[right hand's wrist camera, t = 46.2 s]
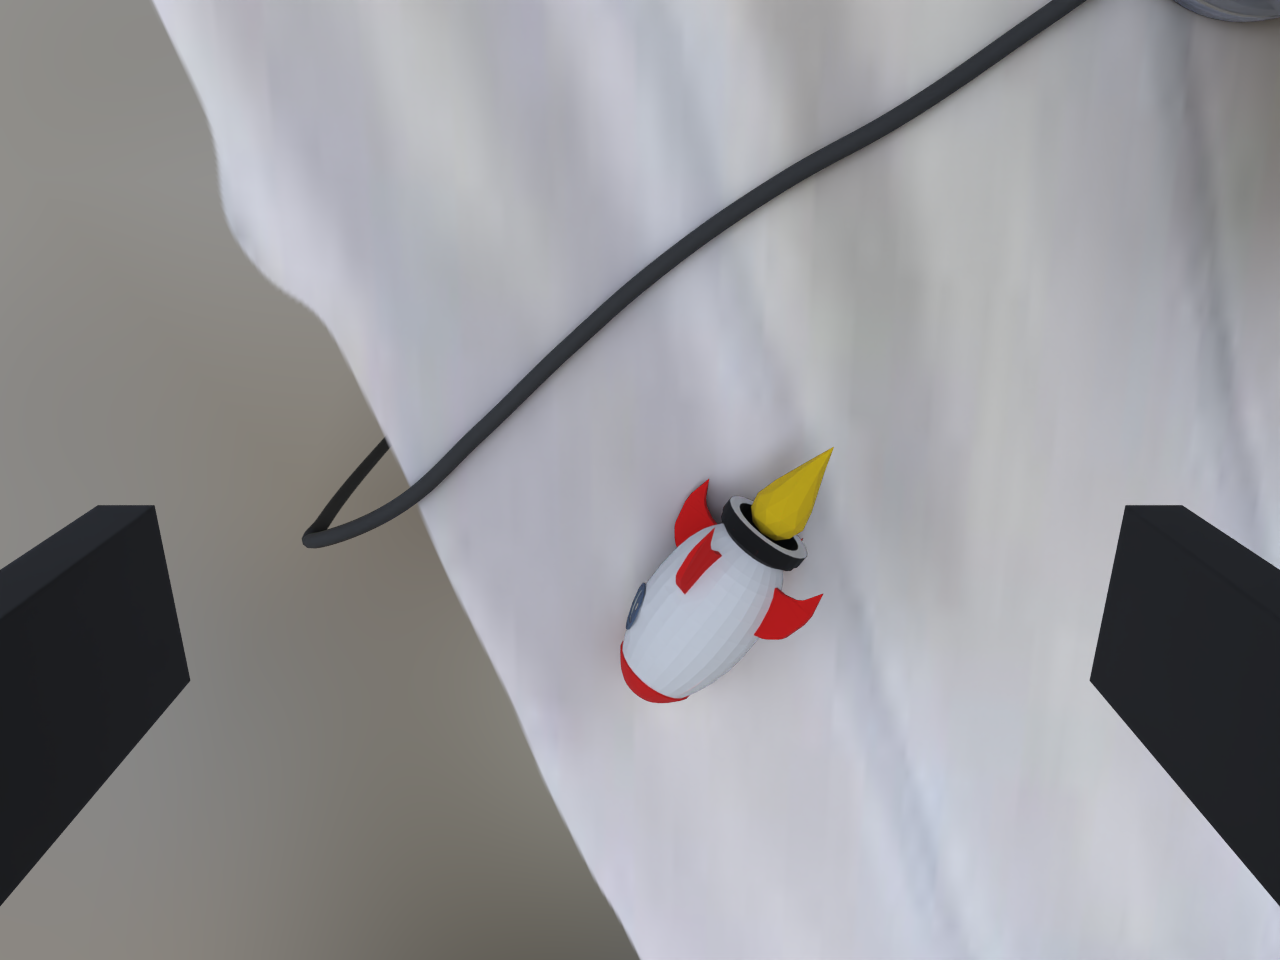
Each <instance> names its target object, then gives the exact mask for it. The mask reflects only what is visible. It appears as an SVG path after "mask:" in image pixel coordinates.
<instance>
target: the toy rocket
mask: <svg viewBox="0 0 1280 960" xmlns="http://www.w3.org/2000/svg"><path fill="white" fill-rule="evenodd" d="M833 448H834V447H832V448H831V449H829V450H827V451H825V452H824V453H822V454H820V455H818V456H817V457H815V458H813V459H811V460H809V461H808V462H806V463H804V464H803V465H801V466H799V467H797V468H796V469H794V470H792V471H790V472H789V473H787V474H785V475H784V476H782V477H780V478H778V479H777V480H775V481H774V482H772V483H771V484H770V485H768V486H767V487H765V488H764V489H763V490H761V491H760V492H759V493H758V494H757V496H756V498H755V500H754V501H752V500H750V499H747V498H745V497H741V496H733V497H731V498H730V500H729V501H728V502H727V503H726V505H725V506H724V508H723V513H722V515H721V518H722V522H723V523H722V524H717V523H716V522H715V521H714V519H713V518H712V516H711V514H710V512H709V510H708V508H707V503H706V495H707V489H708V483H709V479H708V480H707V481H706V482H704V483H703V484H702V485H701V486H700V487H698V488H697V489H696V490H695V491H694V492H692V493H691V495H690V496H689V497H688V499H687V500H686V501H685V503H684V505H683V508H682V510H681V512H680V514H679V516H678V518H677V520H676V523H675V543H676V546H677V548H676V549H675V550H674V551H673V552H672V553H671V554H670V555H669V556H668V557H667V559H666V560H665V561H664V562H663V563H662V564H661V565H660V566H659V568H658V569H657V570H656V572H655V573H654V574H653V576H652V577H651V578H650V580H649V581H648V582H647V584H645V583H642V585H641V586H640V588H639V589H638V592H637V594H636V596H635V598H634V601H633V603H632V606H631V609H630V612H629V615H628V619H627V623H626V629H627V630H626V633H625V637H624V641H623V642H622V644H621V650H620V653H621V669H622V673H623V676H624V680H625V682H626V683H627V685H628V686H629V688H630V689H631V690H632V691H633V692H634V693H635V694H636V695H638V696H639V697H641V698H642V699H644V700H646V701H649V702H654V703H670V702H676V701H681V700H684V699H687V697H688V696H689V695H691V694H693V693H695V692H697V691H699V690H701V689H703V688H705V687H706V686H708V685H710V684H712V683H713V682H715V681H716V680H717V679H718V678H720V677H721V676H722V675H724V674H725V673H726V672H728V671H729V670H730V669H731V668H732V667H733V666H734V665H735V664H736V663H737V662H738V661H740V659H741V658H742V657H743V656H744V655H745V654H746V653H747V651H748V650H749V649H750V648H751V647H752V646H753V644H754V643H755V642H756V641H757V640H758V638H762V639H774V640H779V639H784V638H786V637H788V636H789V635H791V634H792V633H794V632H795V631H797V630H798V629H799V628H801V627H802V626H804V625H805V624H806V623H807V622H808V620H809V619H810V618H811V617H812V615H813V613H814V611H815V609H816V607H817V605H818V603H819V601H820V599H821V597H822V595H823V594H821V595H818V596H815V597H813V598H810V599H807V600H796V599H794V598H791V597H789V596H787V595H785V594H784V593H783V592H782V584H783V570H784V571H791V570H792V569H793V568H797V567H798V566H799V565H800V564H801V563H802V561H803V560H804V559H805V558H806V557H807V550H806V547H805V545H804V544H803V542H802V540H803V538H802V539H800V538H799V537H798V536H797V535H796V534H798V533H800V532H801V531H803V529H804V527H805V525H806V523H807V521H808V519H809V517H810V515H811V513H812V510H813V506H814V503H815V500H816V497H817V494H818V491H819V488H820V484H821V481H822V478H823V475H824V472H825V469H826V467H827V464H828V461H829V459H830V456H831V453H832V451H833Z"/></svg>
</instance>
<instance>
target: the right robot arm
mask: <svg viewBox="0 0 1280 960" xmlns="http://www.w3.org/2000/svg"><path fill="white" fill-rule="evenodd" d="M1085 1H1086V0H1052V1H1051V2H1049V3H1048V4H1047V5H1045V6H1044V7H1042V8H1041V9H1039V10H1038V11H1037V12H1035V13H1034V14H1032V15H1031V16H1029V17H1028V18H1027V19H1025V20H1024V21H1022V22H1021V23H1019V24H1018V25H1016V26H1015V27H1014V28H1012V29H1011V30H1009V31H1008V32H1007V33H1005V34H1004V35H1002V36H1001V37H999V38H998V39H997V40H995V41H994V42H992V43H991V44H990V45H988V46H987V47H985V48H984V49H982V50H981V51H980V52H978V53H977V54H975V55H974V56H973V57H971V58H970V59H968V60H967V61H965V62H964V63H963V64H961V65H960V66H958V67H957V68H955V69H954V70H953V71H951V72H950V73H948V74H947V75H945V76H944V77H942V78H941V79H939V80H938V81H936V82H935V83H933V84H932V85H930V86H929V87H927V88H926V89H924V90H923V91H921V92H920V93H918V94H916V95H915V96H913V97H912V98H910V99H909V100H907V101H905V102H904V103H902V104H901V105H899V106H897V107H896V108H894V109H893V110H891V111H889V112H888V113H886V114H884V115H882V116H881V117H879V118H877V119H876V120H874V121H872V122H870V123H868V124H867V125H865V126H863V127H861V128H859V129H858V130H856V131H854V132H852V133H850V134H848V135H846V136H845V137H843V138H841V139H839V140H837V141H835V142H833V143H831V144H830V145H828V146H826V147H824V148H822V149H820V150H818V151H817V152H815V153H813V154H811V155H809V156H808V157H806V158H804V159H802V160H801V161H799V162H797V163H795V164H794V165H792V166H790V167H789V168H787V169H785V170H784V171H782V172H780V173H779V174H777V175H776V176H774V177H772V178H771V179H769V180H768V181H766V182H765V183H763V184H761V185H760V186H758V187H757V188H755V189H754V190H752V191H750V192H749V193H747V194H746V195H744V196H743V197H741V198H740V199H738V200H737V201H735V202H734V203H732V204H731V205H729V206H728V207H726V208H725V209H723V210H722V211H720V212H719V213H717V214H716V215H715V216H713V217H712V218H710V219H709V220H707V221H706V222H705V223H703V224H702V225H700V226H699V227H698V228H696V229H695V230H694V231H692V232H691V233H690V234H688V235H687V236H686V237H684V238H683V239H682V240H680V241H679V242H678V243H676V244H675V245H674V246H672V247H671V248H670V249H668V250H667V251H666V252H665V253H663V254H662V255H661V256H659V257H658V258H657V259H656V260H654V261H653V262H652V263H651V264H649V265H648V266H647V267H646V268H644V269H643V270H642V271H641V272H639V273H638V274H637V275H636V276H635V277H633V278H632V279H631V280H630V281H629V282H627V283H626V284H625V285H624V286H623V287H622V288H620V289H619V290H618V291H617V292H616V293H615V294H614V295H612V296H611V297H610V298H609V299H608V300H607V301H606V302H605V303H603V304H602V305H601V306H600V307H599V308H598V309H597V310H596V311H595V312H593V313H592V314H591V315H590V316H589V317H588V318H587V319H586V320H585V321H584V322H583V323H582V324H580V325H579V326H578V327H577V328H576V329H575V330H574V331H573V332H572V333H571V334H570V335H569V336H567V337H566V338H565V339H564V340H563V341H562V342H561V343H560V344H559V345H558V346H557V347H556V348H554V349H553V350H552V351H551V352H550V353H549V354H548V355H547V356H546V357H545V358H544V359H543V360H542V361H541V362H540V363H539V364H538V365H537V366H536V367H535V368H534V369H533V370H532V371H530V372H529V373H528V374H527V375H526V376H525V377H524V378H523V379H522V380H521V381H520V382H519V383H518V384H517V385H516V386H515V387H514V388H513V389H512V390H511V391H510V392H509V393H508V394H507V395H506V396H505V397H504V398H503V399H502V400H501V401H500V402H499V403H498V404H497V405H496V406H495V407H494V408H493V409H492V410H491V411H490V412H489V413H488V414H487V415H486V416H485V417H484V418H483V419H482V420H481V421H480V422H478V423H477V424H476V425H475V426H474V427H473V428H472V429H471V430H470V431H469V432H468V433H467V434H466V435H465V436H464V437H463V438H462V439H461V440H460V441H459V442H458V443H457V444H456V445H455V446H454V447H453V448H452V449H451V450H450V451H449V452H448V453H447V454H446V455H445V456H444V457H443V458H442V459H441V460H440V461H439V462H438V463H437V464H436V465H435V466H434V467H433V468H432V469H431V470H430V471H429V472H428V473H427V474H426V475H425V476H424V477H422V478H421V479H420V480H419V481H418V482H417V483H415V484H414V485H413V486H412V487H410V488H409V489H408V490H407V491H405V492H404V493H402V494H401V495H400V496H398V497H397V498H395V499H394V500H392V501H391V502H389V503H387V504H386V505H384V506H382V507H380V508H379V509H377V510H375V511H373V512H371V513H369V514H367V515H365V516H362V517H360V518H358V519H356V520H353V521H351V522H348V523H346V524H343V525H340V526H337V527H334V528H331V529H328V527H329V526H330V524H331V523H332V521H333V520H334V518H335V517H336V515H337V514H338V512H339V511H340V509H341V508H342V506H343V505H344V504H345V502H346V501H347V500H348V498H349V497H350V496H351V494H352V493H353V492H354V491H355V489H356V488H357V487H358V485H359V484H360V483H361V482H362V481H363V479H364V478H365V477H366V476H367V474H368V473H369V472H370V471H371V470H372V468H373V467H374V466H375V465H376V464H377V463H378V461H379V460H380V459H381V458H382V457H383V456H384V454H385V453H386V452H387V451H388V450H389V449H390V447H391V445H390V444H389V442H388V440H387V438H386V436H385V437H384V438H383V439H382V440H381V442H380V443H379V444H378V445H377V446H376V447H375V448H374V449H373V450H372V452H371V453H370V454H369V455H368V456H367V457H366V458H365V459H364V460H363V462H362V463H361V464H360V465H359V466H358V467H357V468H356V470H355V471H354V472H353V473H352V474H351V475H350V476H349V478H348V479H347V480H346V481H345V482H344V484H343V485H342V486H341V487H340V489H339V490H338V491H337V492H336V494H335V495H334V496H333V497H332V499H331V500H330V501H329V503H328V504H327V505H326V506H325V508H324V509H323V511H322V512H321V514H320V515H319V516H318V518H317V519H316V520H315V522H314V523H313V524H312V525H311V526H310V527H309V528H308V529H307V530H306V531H305V533H304V534H303V537H302V543H303V545H305V546H306V547H307V548H321V547H325V546H329V545H333V544H336V543H339V542H342V541H345V540H348V539H351V538H353V537H356V536H358V535H361V534H363V533H366V532H368V531H370V530H372V529H374V528H376V527H378V526H380V525H382V524H384V523H386V522H388V521H390V520H391V519H393V518H395V517H396V516H398V515H400V514H401V513H403V512H404V511H406V510H407V509H409V508H410V507H412V506H413V505H415V504H416V503H417V502H418V501H420V500H421V499H422V498H424V497H425V496H426V495H427V494H428V493H430V492H431V491H432V490H433V489H434V488H435V487H436V486H437V485H438V484H440V483H441V482H442V481H443V480H444V479H445V478H446V477H447V476H448V475H449V474H450V473H451V472H452V471H453V470H454V469H455V468H456V467H457V466H458V465H459V464H460V463H461V462H462V461H463V460H464V459H465V458H466V457H467V456H468V455H469V454H470V453H471V452H472V451H473V450H474V449H475V448H476V447H477V446H478V445H479V444H480V443H481V442H482V441H483V440H484V439H485V438H486V437H487V436H489V435H490V434H491V433H492V432H493V431H494V430H495V429H496V428H497V427H498V426H499V425H500V424H501V423H502V422H503V421H504V420H505V419H506V418H507V417H509V416H510V415H511V414H512V413H513V412H514V411H515V410H516V409H517V408H518V407H519V406H520V405H521V404H522V403H523V402H524V401H525V400H526V399H527V398H528V397H529V396H530V395H531V394H532V393H533V392H534V391H535V390H536V389H537V388H538V387H539V386H540V385H541V384H542V383H543V382H544V381H545V380H546V379H547V378H548V377H549V376H550V375H551V374H552V373H554V372H555V371H556V370H557V369H558V368H559V367H560V366H561V365H562V364H563V363H564V362H565V361H566V360H567V359H568V358H570V357H571V356H572V355H573V354H574V353H575V352H576V351H577V350H578V349H579V348H580V347H582V346H583V345H584V344H585V343H586V342H587V341H588V340H589V339H590V338H591V337H593V336H594V335H595V334H596V333H597V332H598V331H599V330H600V329H601V328H602V327H604V326H605V325H606V324H607V323H608V322H609V321H610V320H611V319H612V318H613V317H615V316H616V315H617V314H618V313H619V312H620V311H621V310H623V309H624V308H625V307H626V306H627V305H628V304H629V303H631V302H632V301H633V300H634V299H635V298H636V297H638V296H639V295H640V294H641V293H642V292H644V291H645V290H646V289H647V288H649V287H650V286H651V285H652V284H653V283H655V282H656V281H657V280H658V279H660V278H661V277H662V276H664V275H665V274H666V273H667V272H669V271H670V270H671V269H673V268H674V267H675V266H676V265H678V264H679V263H680V262H682V261H683V260H684V259H686V258H687V257H688V256H690V255H691V254H692V253H694V252H695V251H696V250H698V249H699V248H700V247H702V246H703V245H704V244H706V243H707V242H709V241H710V240H711V239H713V238H714V237H716V236H717V235H718V234H720V233H721V232H723V231H724V230H726V229H727V228H729V227H730V226H732V225H733V224H734V223H736V222H737V221H739V220H740V219H742V218H743V217H745V216H747V215H748V214H750V213H751V212H753V211H754V210H756V209H757V208H759V207H760V206H762V205H764V204H765V203H767V202H768V201H770V200H771V199H773V198H775V197H776V196H778V195H779V194H781V193H783V192H784V191H786V190H787V189H789V188H791V187H792V186H794V185H796V184H797V183H799V182H801V181H802V180H804V179H806V178H808V177H809V176H811V175H813V174H815V173H816V172H818V171H820V170H822V169H824V168H826V167H827V166H829V165H831V164H833V163H835V162H837V161H839V160H841V159H842V158H844V157H846V156H848V155H850V154H852V153H854V152H856V151H858V150H859V149H861V148H863V147H865V146H867V145H869V144H871V143H872V142H874V141H876V140H878V139H880V138H881V137H883V136H885V135H887V134H888V133H890V132H892V131H894V130H895V129H897V128H899V127H900V126H902V125H904V124H905V123H907V122H909V121H910V120H912V119H913V118H915V117H917V116H918V115H920V114H921V113H923V112H925V111H926V110H928V109H929V108H931V107H932V106H934V105H935V104H937V103H938V102H940V101H942V100H943V99H945V98H946V97H948V96H949V95H951V94H952V93H954V92H955V91H957V90H958V89H959V88H961V87H962V86H964V85H965V84H967V83H968V82H970V81H971V80H973V79H974V78H975V77H977V76H978V75H980V74H981V73H983V72H984V71H985V70H987V69H988V68H990V67H991V66H993V65H994V64H995V63H997V62H998V61H1000V60H1001V59H1003V58H1004V57H1005V56H1007V55H1008V54H1010V53H1011V52H1013V51H1014V50H1015V49H1017V48H1018V47H1020V46H1021V45H1023V44H1024V43H1025V42H1027V41H1028V40H1030V39H1031V38H1033V37H1034V36H1036V35H1037V34H1038V33H1040V32H1041V31H1043V30H1044V29H1046V28H1047V27H1049V26H1050V25H1052V24H1053V23H1054V22H1056V21H1057V20H1059V19H1060V18H1062V17H1063V16H1065V15H1066V14H1067V13H1069V12H1070V11H1072V10H1073V9H1075V8H1076V7H1077V6H1079V5H1080V4H1082V3H1083V2H1085ZM1174 1H1175V2H1177V3H1178V4H1180V5H1182V6H1183V7H1185V8H1187V9H1189V10H1191V11H1193V12H1195V13H1197V14H1200V15H1203V16H1206V17H1209V18H1213V19H1218V20H1223V21H1233V22H1254V21H1261V20H1269V19H1274V18H1279V17H1280V0H1174ZM327 529H328V530H327ZM189 681H190V677H189V672H188V667H187V662H186V657H185V652H184V647H183V642H182V638H181V633H180V628H179V623H178V618H177V613H176V608H175V603H174V598H173V594H172V589H171V584H170V579H169V574H168V569H167V564H166V559H165V555H164V550H163V545H162V540H161V535H160V530H159V525H158V520H157V515H156V511H155V506H154V505H98V506H96V507H95V508H93V509H92V510H90V511H89V512H87V513H86V514H84V515H83V516H81V517H80V518H78V519H76V520H75V521H74V522H72V523H70V524H69V525H67V526H66V527H64V528H63V529H61V530H60V531H58V532H57V533H55V534H54V535H52V536H51V537H49V538H48V539H46V540H45V541H43V542H42V543H40V544H39V545H37V546H36V547H34V548H33V549H31V550H30V551H28V552H27V553H25V554H24V555H22V556H21V557H19V558H18V559H16V560H15V561H13V562H12V563H10V564H8V565H7V566H6V567H4V568H2V569H1V570H0V906H1V905H2V903H3V902H4V901H5V900H6V899H7V898H8V896H9V895H10V894H11V893H12V892H13V890H14V889H15V888H16V887H17V886H18V885H19V883H20V882H21V881H22V880H23V879H24V877H25V876H26V875H27V874H28V873H29V871H30V870H31V869H32V868H33V867H34V866H35V864H36V863H37V862H38V861H39V860H40V858H41V857H42V856H43V855H44V854H45V852H46V851H47V850H48V849H49V848H50V847H51V845H52V844H53V843H54V842H55V841H56V839H57V838H58V837H59V836H60V835H61V833H62V832H63V831H64V830H65V829H66V828H67V826H68V825H69V824H70V823H71V822H72V820H73V819H74V818H75V817H76V816H77V814H78V813H79V812H80V811H81V810H82V809H83V807H84V806H85V805H86V804H87V803H88V801H89V800H90V799H91V798H92V797H93V795H94V794H95V793H96V792H97V791H98V790H99V788H100V787H101V786H102V785H103V784H104V782H105V781H106V780H107V779H108V778H109V776H110V775H111V774H112V773H113V772H114V771H115V769H116V768H117V767H118V766H119V765H120V763H121V762H122V761H123V760H124V759H125V757H126V756H127V755H128V754H129V753H130V752H131V750H132V749H133V748H134V747H135V746H136V744H137V743H138V742H139V741H140V740H141V738H142V737H143V736H144V735H145V734H146V733H147V731H148V730H149V729H150V728H151V727H152V725H153V724H154V723H155V722H156V721H157V719H158V718H159V717H160V716H161V715H162V714H163V712H164V711H165V710H166V709H167V708H168V706H169V705H170V704H171V703H172V702H173V700H174V699H175V698H176V697H177V696H178V695H179V693H180V692H181V691H182V690H183V689H184V687H185V686H186V685H187V684H188V683H189ZM1090 681H1091V683H1092V684H1093V685H1094V686H1095V687H1096V689H1097V690H1098V691H1099V692H1100V693H1101V695H1102V696H1103V697H1104V698H1105V699H1106V700H1107V702H1108V703H1109V704H1110V705H1111V706H1112V708H1113V709H1114V710H1115V711H1116V712H1117V714H1118V715H1119V716H1120V717H1121V718H1122V719H1123V721H1124V722H1125V723H1126V724H1127V725H1128V727H1129V728H1130V729H1131V730H1132V731H1133V733H1134V734H1135V735H1136V736H1137V737H1138V738H1139V740H1140V741H1141V742H1142V743H1143V744H1144V746H1145V747H1146V748H1147V749H1148V750H1149V752H1150V753H1151V754H1152V755H1153V756H1154V757H1155V759H1156V760H1157V761H1158V762H1159V763H1160V765H1161V766H1162V767H1163V768H1164V769H1165V771H1166V772H1167V773H1168V774H1169V775H1170V776H1171V778H1172V779H1173V780H1174V781H1175V782H1176V784H1177V785H1178V786H1179V787H1180V788H1181V790H1182V791H1183V792H1184V793H1185V794H1186V795H1187V797H1188V798H1189V799H1190V800H1191V801H1192V803H1193V804H1194V805H1195V806H1196V807H1197V809H1198V810H1199V811H1200V812H1201V813H1202V814H1203V816H1204V817H1205V818H1206V819H1207V820H1208V822H1209V823H1210V824H1211V825H1212V826H1213V828H1214V829H1215V830H1216V831H1217V832H1218V833H1219V835H1220V836H1221V837H1222V838H1223V839H1224V841H1225V842H1226V843H1227V844H1228V845H1229V847H1230V848H1231V849H1232V850H1233V851H1234V852H1235V854H1236V855H1237V856H1238V857H1239V858H1240V860H1241V861H1242V862H1243V863H1244V864H1245V866H1246V867H1247V868H1248V869H1249V870H1250V871H1251V873H1252V874H1253V875H1254V876H1255V877H1256V879H1257V880H1258V881H1259V882H1260V883H1261V885H1262V886H1263V887H1264V888H1265V889H1266V890H1267V892H1268V893H1269V894H1270V895H1271V896H1272V898H1273V899H1274V900H1275V901H1276V902H1277V904H1278V905H1279V906H1280V570H1279V569H1278V568H1276V567H1275V566H1273V565H1272V564H1270V563H1269V562H1267V561H1265V560H1264V559H1262V558H1261V557H1259V556H1258V555H1256V554H1255V553H1253V552H1252V551H1250V550H1249V549H1247V548H1246V547H1244V546H1243V545H1241V544H1240V543H1238V542H1237V541H1235V540H1234V539H1232V538H1231V537H1229V536H1228V535H1226V534H1225V533H1223V532H1222V531H1220V530H1219V529H1217V528H1216V527H1214V526H1213V525H1211V524H1210V523H1208V522H1207V521H1205V520H1204V519H1202V518H1200V517H1199V516H1197V515H1196V514H1194V513H1193V512H1191V511H1190V510H1188V509H1187V508H1185V507H1184V506H1182V505H1126V506H1125V510H1124V515H1123V520H1122V525H1121V530H1120V535H1119V540H1118V545H1117V550H1116V554H1115V559H1114V564H1113V569H1112V574H1111V579H1110V584H1109V589H1108V594H1107V598H1106V603H1105V608H1104V613H1103V618H1102V623H1101V628H1100V633H1099V638H1098V642H1097V647H1096V652H1095V657H1094V662H1093V667H1092V672H1091V677H1090Z"/></svg>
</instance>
